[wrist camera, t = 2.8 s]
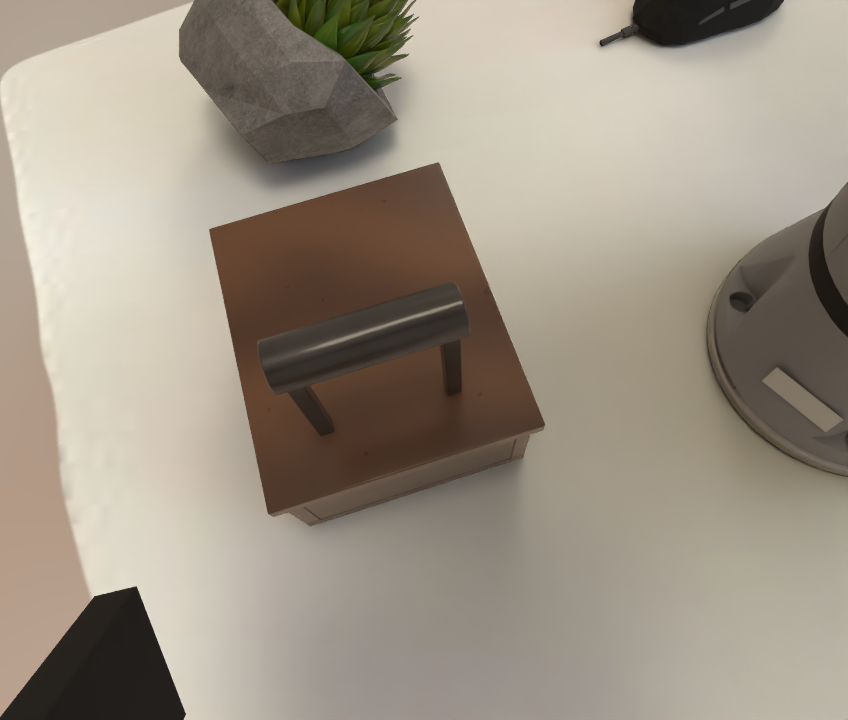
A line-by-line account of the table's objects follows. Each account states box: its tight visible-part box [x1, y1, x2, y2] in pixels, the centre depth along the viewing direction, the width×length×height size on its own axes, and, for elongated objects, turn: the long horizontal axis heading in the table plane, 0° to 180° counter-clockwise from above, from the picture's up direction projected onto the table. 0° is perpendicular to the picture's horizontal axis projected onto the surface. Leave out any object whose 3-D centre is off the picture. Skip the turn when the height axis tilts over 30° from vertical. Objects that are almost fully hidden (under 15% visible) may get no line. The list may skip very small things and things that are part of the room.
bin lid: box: [209, 163, 545, 517], centre depth 27 cm, size 15×13×9 cm
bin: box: [289, 435, 530, 526], centre depth 35 cm, size 15×13×8 cm
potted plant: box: [179, 0, 418, 163], centre depth 42 cm, size 12×13×15 cm
